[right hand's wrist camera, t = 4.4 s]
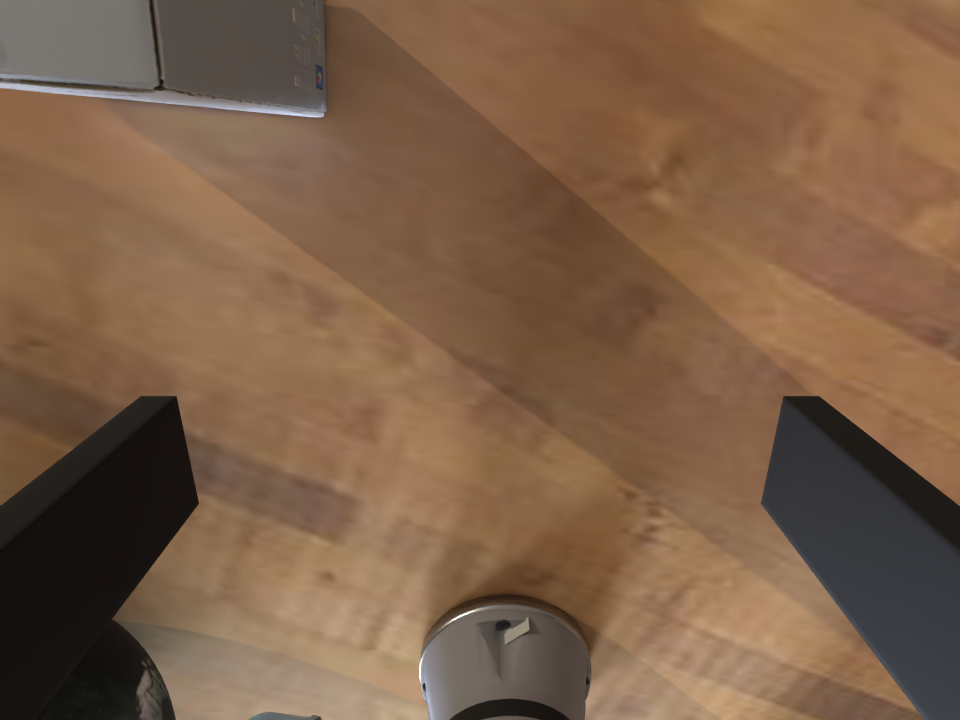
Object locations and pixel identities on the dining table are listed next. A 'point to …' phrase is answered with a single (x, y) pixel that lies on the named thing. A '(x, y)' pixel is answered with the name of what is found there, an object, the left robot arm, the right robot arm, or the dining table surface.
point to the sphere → (112, 683)
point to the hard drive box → (170, 51)
